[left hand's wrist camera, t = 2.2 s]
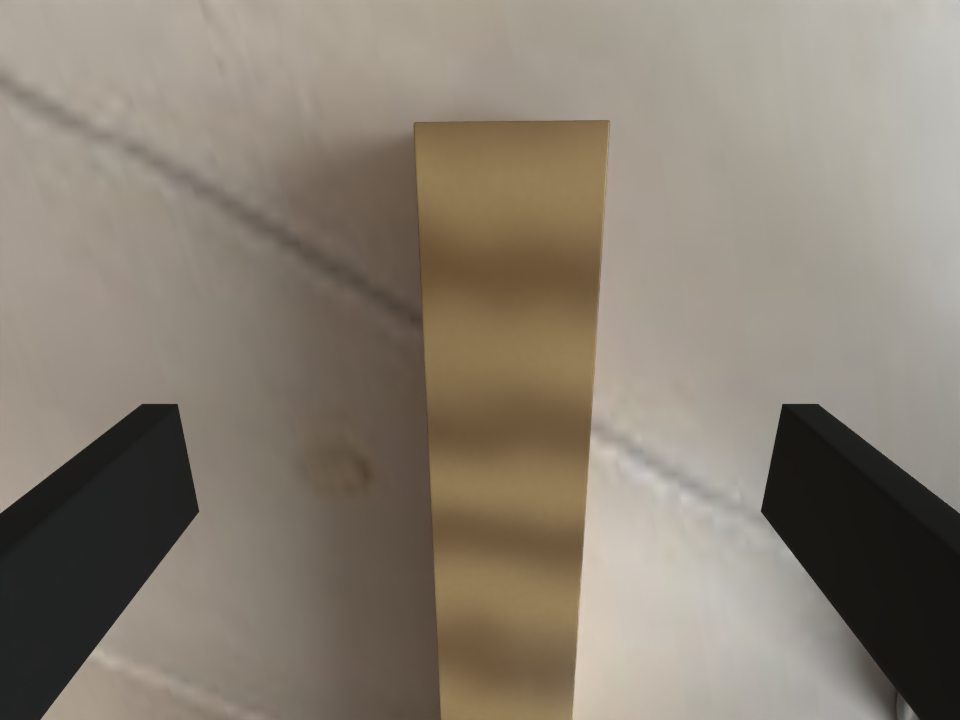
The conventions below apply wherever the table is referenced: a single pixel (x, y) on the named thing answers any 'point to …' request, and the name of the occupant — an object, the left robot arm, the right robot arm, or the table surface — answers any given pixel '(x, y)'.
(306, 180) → the table surface
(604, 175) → the bar
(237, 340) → the table surface
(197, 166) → the table surface
